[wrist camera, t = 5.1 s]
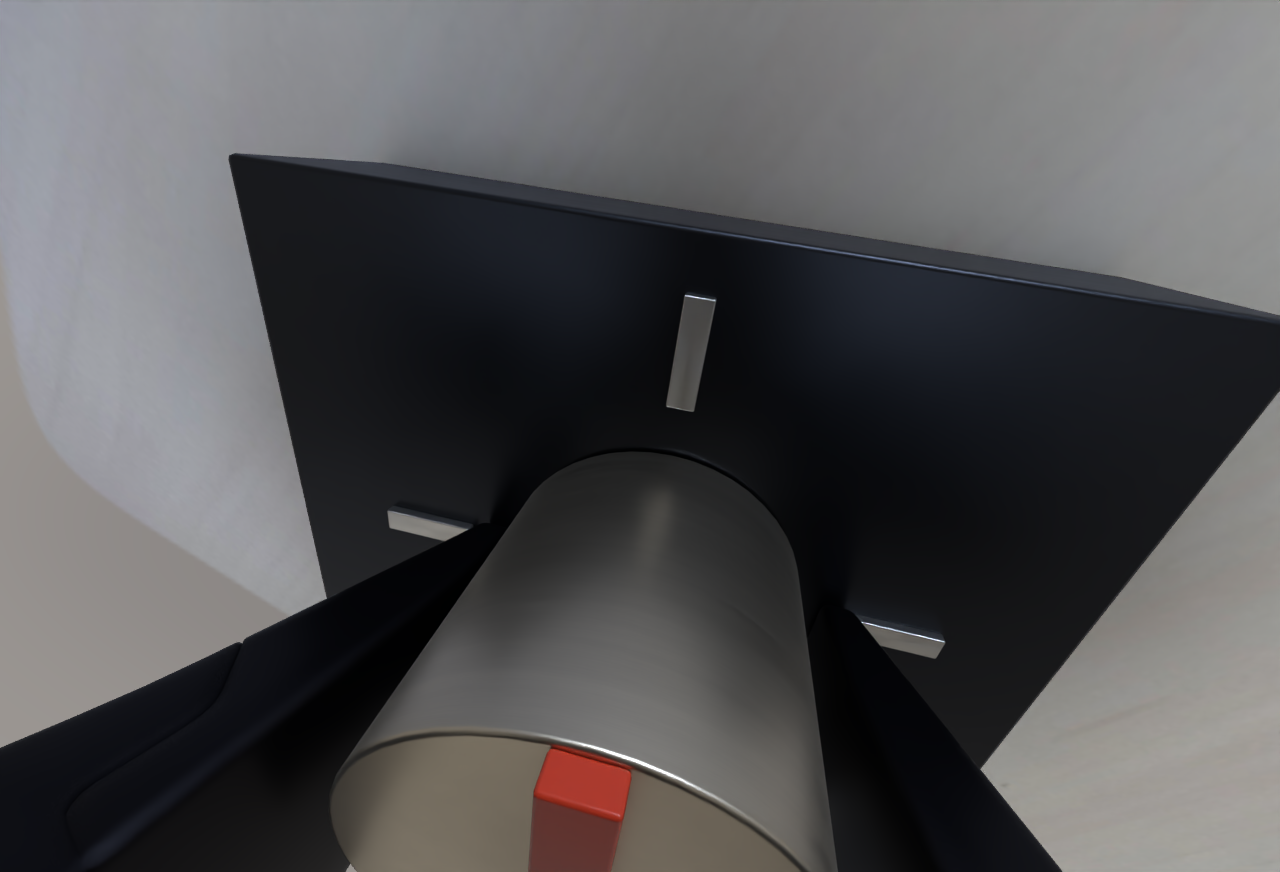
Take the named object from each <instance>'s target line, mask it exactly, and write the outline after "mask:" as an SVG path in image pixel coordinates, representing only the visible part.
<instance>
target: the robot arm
mask: <svg viewBox="0 0 1280 872" xmlns="http://www.w3.org/2000/svg"><path fill="white" fill-rule="evenodd" d="M506 530H507V528H506V527H503V526H499V525H495V524H491V523H481V524H479V525H477V526H475V527H473V528H471V529H469V530H466V531H464V532H462V533H460V534H458V535H456V536H454V537H452V538H450V539H448V540H446V541H444V542H442V543H440V544H438V545H436V546H434V547H432V548H430V549H427V550H425V551H423V552H421V553H419V554H417V555H415V556H413V557H411V558H409V559H407V560H405V561H403V562H401V563H399V564H397V565H395V566H393V567H391V568H389V569H386V570H384V571H382V572H380V573H378V574H376V575H374V576H372V577H370V578H368V579H366V580H364V581H362V582H360V583H358V584H356V585H354V586H352V587H350V588H348V589H345V590H343V591H341V592H339V593H337V594H335V595H333V596H331V597H329V598H327V599H325V600H323V601H321V602H319V603H317V604H315V605H313V606H311V607H309V608H307V609H304V610H302V611H300V612H298V613H296V614H294V615H292V616H290V617H288V618H286V619H284V620H282V621H280V622H278V623H276V624H274V625H272V626H270V627H268V628H266V629H263V630H262V631H260V632H257V633H255V634H253V635H251V636H249V637H247V638H246V639H245V640H244V641H243V643H240V642H237V643H234V644H232V645H230V646H228V647H226V648H224V649H222V650H220V651H218V652H216V653H214V654H212V655H210V656H208V657H206V658H204V659H201V660H199V661H197V662H195V663H193V664H191V665H189V666H187V667H184V668H182V669H180V670H178V671H176V672H174V673H172V674H169V675H167V676H165V677H163V678H161V679H159V680H157V681H155V682H152V683H150V684H148V685H146V686H144V687H142V688H139V689H137V690H135V691H133V692H130V693H128V694H125V695H123V696H121V697H119V698H116V699H114V700H112V701H109V702H107V703H105V704H103V705H100V706H98V707H96V708H93V709H91V710H89V711H86V712H84V713H82V714H80V715H77V716H75V717H73V718H70V719H68V720H65V721H63V722H61V723H58V724H56V725H54V726H51V727H49V728H46V729H44V730H42V731H39V732H37V733H34V734H32V735H30V736H27V737H25V738H23V739H20V740H18V741H15V742H13V743H11V744H8V745H6V746H4V747H1V748H0V872H346V870H347V868H348V867H349V865H350V862H349V861H348V859H347V858H346V856H345V854H344V853H343V851H342V849H341V848H340V846H339V844H338V842H337V840H336V837H335V835H334V832H333V829H332V827H331V822H330V816H329V811H328V809H329V794H330V791H331V788H332V785H333V782H334V779H335V776H336V774H337V772H338V771H339V769H340V768H341V767H342V765H343V764H344V762H345V761H346V759H347V758H348V757H349V755H350V754H351V752H352V751H353V749H354V748H355V747H356V745H357V744H358V742H359V741H360V739H361V738H362V737H363V735H364V734H365V732H366V731H367V729H368V728H369V726H370V725H371V724H372V722H373V721H374V719H375V718H376V716H377V715H378V714H379V712H380V711H381V709H382V708H383V706H384V705H385V704H386V702H387V701H388V699H389V698H390V696H391V695H392V694H393V692H394V691H395V689H396V688H397V686H398V685H399V683H400V682H401V681H402V679H403V678H404V676H405V675H406V673H407V672H408V671H409V669H410V668H411V666H412V665H413V663H414V662H415V661H416V659H417V658H418V656H419V655H420V653H421V652H422V651H423V649H424V648H425V646H426V645H427V643H428V642H429V640H430V639H431V638H432V636H433V635H434V633H435V632H436V630H437V629H438V628H439V626H440V625H441V623H442V622H443V620H444V619H445V618H446V616H447V615H448V613H449V612H450V610H451V609H452V608H453V606H454V605H455V603H456V602H457V600H458V599H459V597H460V596H461V595H462V593H463V592H464V590H465V589H466V587H467V586H468V585H469V583H470V582H471V580H472V579H473V577H474V576H475V575H476V573H477V572H478V570H479V569H480V567H481V566H482V564H483V563H484V562H485V560H486V559H487V557H488V556H489V554H490V553H491V552H492V550H493V549H494V547H495V546H496V544H497V543H498V542H499V540H500V539H501V537H502V536H503V534H504V533H505V532H506ZM807 644H808V652H809V659H810V667H811V674H812V682H813V689H814V696H815V704H816V711H817V719H818V726H819V734H820V741H821V749H822V756H823V764H824V771H825V779H826V786H827V794H828V801H829V809H830V816H831V824H832V831H833V839H834V846H835V854H836V861H837V869H838V872H1062V870H1061V869H1060V868H1059V866H1058V865H1057V864H1056V863H1055V861H1054V860H1053V859H1052V858H1051V856H1050V855H1049V854H1048V853H1047V852H1046V850H1045V849H1044V848H1043V847H1042V845H1041V844H1040V843H1039V842H1038V840H1037V839H1036V838H1035V837H1034V835H1033V834H1032V833H1031V832H1030V830H1029V829H1028V828H1027V827H1026V825H1025V824H1024V823H1023V822H1022V821H1021V819H1020V818H1019V817H1018V816H1017V814H1016V813H1015V812H1014V811H1013V809H1012V808H1011V807H1010V806H1009V804H1008V803H1007V802H1006V801H1005V799H1004V798H1003V797H1002V796H1001V794H1000V793H999V792H998V791H997V790H996V788H995V787H994V786H993V785H992V783H991V782H990V781H989V780H988V778H987V777H986V776H985V775H984V773H983V772H982V771H981V770H980V768H979V767H978V766H977V765H976V764H975V762H974V761H973V760H972V759H971V757H970V756H969V755H968V754H967V752H966V751H965V750H964V749H963V747H962V746H961V745H960V744H959V742H958V741H957V740H956V739H955V737H954V736H953V735H952V734H951V733H950V731H949V730H948V729H947V728H946V726H945V725H944V724H943V723H942V721H941V720H940V719H939V718H938V716H937V715H936V714H935V713H934V711H933V710H932V709H931V708H930V706H929V705H928V704H927V703H926V702H925V700H924V699H923V698H922V697H921V695H920V694H919V693H918V692H917V690H916V689H915V688H914V687H913V685H912V684H911V683H910V682H909V680H908V679H907V678H906V677H905V676H904V674H903V673H902V672H901V671H900V669H899V668H898V667H897V666H896V664H895V663H894V662H893V661H892V659H891V658H890V657H889V656H888V654H887V653H886V652H885V651H884V649H883V648H882V647H881V646H880V645H879V643H878V642H877V641H876V640H875V638H874V637H873V636H872V635H871V633H870V632H869V631H868V630H867V628H866V627H865V626H864V625H863V623H862V622H861V621H860V620H859V618H858V617H857V616H856V615H855V614H854V613H853V612H852V611H850V610H847V609H843V608H839V607H835V606H831V605H825V606H823V607H822V608H821V609H820V611H819V613H818V615H817V617H816V620H815V622H814V625H813V627H812V629H811V632H810V634H809V637H808V639H807Z"/></svg>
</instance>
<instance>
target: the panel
mask: <svg viewBox="0 0 1280 872" xmlns="http://www.w3.org/2000/svg"><path fill="white" fill-rule="evenodd" d="M229 163H230V168H231V172H232V177H233V181H234V186H235V190H236V195H237V199H238V204H239V208H240V212H241V217H242V221H243V226H244V230H245V235H246V239H247V244H248V248H249V253H250V257H251V262H252V266H253V271H254V275H255V279H256V284H257V288H258V293H259V297H260V302H261V306H262V311H263V315H264V320H265V324H266V329H267V333H268V338H269V342H270V346H271V351H272V355H273V360H274V364H275V369H276V373H277V378H278V382H279V387H280V391H281V396H282V400H283V405H284V409H285V413H286V418H287V422H288V427H289V431H290V436H291V440H292V445H293V449H294V454H295V458H296V463H297V467H298V472H299V476H300V480H301V485H302V489H303V494H304V498H305V503H306V507H307V512H308V516H309V521H310V525H311V530H312V534H313V539H314V543H315V547H316V552H317V556H318V561H319V565H320V570H321V574H322V579H323V583H324V588H325V592H326V597H327V598H329V597H331V596H333V595H335V594H337V593H339V592H341V591H343V590H345V589H348V588H350V587H352V586H354V585H356V584H358V583H360V582H362V581H364V580H366V579H368V578H370V577H372V576H374V575H376V574H378V573H380V572H382V571H384V570H386V569H389V568H391V567H393V566H395V565H397V564H399V563H401V562H403V561H405V560H407V559H409V558H411V557H413V556H415V555H417V554H419V553H421V552H423V551H425V550H427V549H430V548H432V547H434V546H436V545H438V544H440V543H442V542H444V541H446V540H448V539H450V538H452V537H454V536H456V535H458V534H460V533H462V532H464V531H466V530H469V529H471V528H473V527H475V526H477V525H479V524H481V523H491V524H495V525H499V526H503V527H506V528H507V529H508V527H509V526H510V524H511V523H512V521H513V520H514V519H515V517H516V516H517V514H518V513H519V511H520V510H521V509H522V507H523V506H524V504H525V503H526V501H527V500H528V499H529V497H530V496H531V494H532V493H533V492H534V491H535V490H536V489H537V488H538V487H539V486H540V485H541V484H542V483H543V482H544V481H545V480H547V479H548V478H549V477H551V476H552V475H553V474H555V473H556V472H558V471H560V470H561V469H563V468H565V467H567V466H569V465H571V464H573V463H576V462H579V461H582V460H584V459H587V458H590V457H594V456H599V455H604V454H609V453H618V452H630V451H632V452H653V453H659V454H666V455H672V456H676V457H680V458H683V459H687V460H690V461H694V462H696V463H699V464H701V465H704V466H706V467H709V468H711V469H714V470H715V471H717V472H719V473H721V474H723V475H725V476H726V477H728V478H730V479H732V480H733V481H735V482H736V483H738V484H739V485H740V486H742V487H743V488H745V489H746V490H747V491H749V492H750V493H751V494H752V495H753V496H754V497H755V498H756V499H757V500H759V501H760V502H761V503H762V504H763V505H764V506H765V507H766V508H767V510H768V511H769V512H770V513H771V514H772V516H773V517H774V518H775V519H776V520H777V522H778V523H779V525H780V527H781V528H782V530H783V531H784V533H785V535H786V536H787V539H788V541H789V543H790V546H791V548H792V550H793V553H794V557H795V561H796V565H797V569H798V577H799V584H800V592H801V599H802V607H803V614H804V622H805V629H806V637H807V639H808V637H809V634H810V632H811V629H812V627H813V625H814V622H815V620H816V617H817V615H818V613H819V611H820V609H821V608H822V607H823V606H825V605H831V606H835V607H839V608H843V609H847V610H850V611H852V612H853V613H854V614H855V615H856V616H857V617H858V618H859V620H860V621H861V622H862V623H863V625H864V626H865V627H866V628H867V630H868V631H869V632H870V633H871V635H872V636H873V637H874V638H875V640H876V641H877V642H878V643H879V645H880V646H881V647H882V648H883V649H884V651H885V652H886V653H887V654H888V656H889V657H890V658H891V659H892V661H893V662H894V663H895V664H896V666H897V667H898V668H899V669H900V671H901V672H902V673H903V674H904V676H905V677H906V678H907V679H908V680H909V682H910V683H911V684H912V685H913V687H914V688H915V689H916V690H917V692H918V693H919V694H920V695H921V697H922V698H923V699H924V700H925V702H926V703H927V704H928V705H929V706H930V708H931V709H932V710H933V711H934V713H935V714H936V715H937V716H938V718H939V719H940V720H941V721H942V723H943V724H944V725H945V726H946V728H947V729H948V730H949V731H950V733H951V734H952V735H953V736H954V737H955V739H956V740H957V741H958V742H959V744H960V745H961V746H962V747H963V749H964V750H965V751H966V752H967V754H968V755H969V756H970V757H971V759H972V760H973V761H974V762H975V764H976V765H977V766H978V767H979V768H980V769H981V768H982V766H983V765H984V764H985V763H986V761H987V760H988V759H989V758H990V756H991V755H992V754H993V752H994V751H995V750H996V749H997V747H998V746H999V745H1000V744H1001V742H1002V741H1003V740H1004V739H1005V737H1006V736H1007V735H1008V734H1009V732H1010V731H1011V730H1012V728H1013V727H1014V726H1015V725H1016V723H1017V722H1018V721H1019V720H1020V718H1021V717H1022V716H1023V715H1024V713H1025V712H1026V711H1027V710H1028V708H1029V707H1030V706H1031V704H1032V703H1033V702H1034V701H1035V699H1036V698H1037V697H1038V696H1039V694H1040V693H1041V692H1042V691H1043V689H1044V688H1045V687H1046V685H1047V684H1048V683H1049V682H1050V680H1051V679H1052V678H1053V677H1054V675H1055V674H1056V673H1057V672H1058V670H1059V669H1060V668H1061V667H1062V665H1063V664H1064V663H1065V661H1066V660H1067V659H1068V658H1069V656H1070V655H1071V654H1072V653H1073V651H1074V650H1075V649H1076V648H1077V646H1078V645H1079V644H1080V643H1081V641H1082V640H1083V639H1084V637H1085V636H1086V635H1087V634H1088V632H1089V631H1090V630H1091V629H1092V627H1093V626H1094V625H1095V624H1096V622H1097V621H1098V620H1099V618H1100V617H1101V616H1102V615H1103V613H1104V612H1105V611H1106V610H1107V608H1108V607H1109V606H1110V605H1111V603H1112V602H1113V601H1114V600H1115V598H1116V597H1117V596H1118V594H1119V593H1120V592H1121V591H1122V589H1123V588H1124V587H1125V586H1126V584H1127V583H1128V582H1129V581H1130V579H1131V578H1132V577H1133V576H1134V574H1135V573H1136V572H1137V570H1138V569H1139V568H1140V567H1141V565H1142V564H1143V563H1144V562H1145V560H1146V559H1147V558H1148V557H1149V555H1150V554H1151V553H1152V551H1153V550H1154V549H1155V548H1156V546H1157V545H1158V544H1159V543H1160V541H1161V540H1162V539H1163V538H1164V536H1165V535H1166V534H1167V533H1168V531H1169V530H1170V529H1171V527H1172V526H1173V525H1174V524H1175V522H1176V521H1177V520H1178V519H1179V517H1180V516H1181V515H1182V514H1183V512H1184V511H1185V510H1186V509H1187V507H1188V506H1189V505H1190V503H1191V502H1192V501H1193V500H1194V498H1195V497H1196V496H1197V495H1198V493H1199V492H1200V491H1201V490H1202V488H1203V487H1204V486H1205V484H1206V483H1207V482H1208V481H1209V479H1210V478H1211V477H1212V476H1213V474H1214V473H1215V472H1216V471H1217V469H1218V468H1219V467H1220V466H1221V464H1222V463H1223V462H1224V460H1225V459H1226V458H1227V457H1228V455H1229V454H1230V453H1231V452H1232V450H1233V449H1234V448H1235V447H1236V445H1237V444H1238V443H1239V442H1240V440H1241V439H1242V438H1243V436H1244V435H1245V434H1246V433H1247V431H1248V430H1249V429H1250V428H1251V426H1252V425H1253V424H1254V423H1255V421H1256V420H1257V419H1258V418H1259V416H1260V415H1261V414H1262V412H1263V411H1264V410H1265V409H1266V407H1267V406H1268V405H1269V404H1270V402H1271V401H1272V400H1273V399H1274V397H1275V396H1276V395H1277V393H1278V392H1279V391H1280V316H1279V315H1275V314H1271V313H1267V312H1263V311H1258V310H1254V309H1250V308H1246V307H1242V306H1238V305H1234V304H1230V303H1225V302H1221V301H1217V300H1213V299H1209V298H1205V297H1201V296H1197V295H1192V294H1188V293H1184V292H1180V291H1176V290H1172V289H1168V288H1164V287H1159V286H1155V285H1151V284H1147V283H1143V282H1139V281H1135V280H1131V279H1126V278H1122V277H1115V276H1109V275H1102V274H1096V273H1090V272H1083V271H1077V270H1070V269H1064V268H1057V267H1051V266H1044V265H1038V264H1032V263H1025V262H1019V261H1012V260H1006V259H999V258H993V257H986V256H980V255H974V254H967V253H961V252H954V251H948V250H941V249H935V248H929V247H922V246H916V245H909V244H903V243H896V242H890V241H883V240H877V239H871V238H864V237H858V236H851V235H845V234H838V233H832V232H825V231H819V230H813V229H806V228H800V227H793V226H787V225H780V224H774V223H767V222H761V221H755V220H748V219H742V218H735V217H729V216H722V215H716V214H709V213H703V212H697V211H690V210H684V209H677V208H671V207H664V206H658V205H652V204H645V203H639V202H632V201H626V200H619V199H613V198H606V197H600V196H594V195H587V194H581V193H574V192H568V191H561V190H555V189H548V188H542V187H536V186H529V185H523V184H516V183H510V182H503V181H497V180H490V179H484V178H478V177H471V176H465V175H458V174H452V173H445V172H439V171H432V170H426V169H420V168H413V167H407V166H400V165H394V164H387V163H377V162H362V161H346V160H331V159H315V158H300V157H284V156H269V155H253V154H238V153H234V154H232V155H229Z"/></svg>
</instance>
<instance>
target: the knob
mask: <svg viewBox="0 0 1280 872" xmlns="http://www.w3.org/2000/svg"><path fill="white" fill-rule="evenodd" d="M328 811H329V816H330V822H331V827H332V829H333V832H334V835H335V837H336V840H337V842H338V844H339V846H340V848H341V849H342V851H343V853H344V854H345V856H346V858H347V859H348V861H349V862H350V863H351V865H352V866H353V867H354V869H355V870H356V871H357V872H838V869H837V861H836V854H835V846H834V839H833V831H832V824H831V816H830V809H829V801H828V794H827V786H826V779H825V771H824V764H823V756H822V749H821V741H820V734H819V726H818V719H817V711H816V704H815V696H814V689H813V682H812V674H811V667H810V659H809V652H808V644H807V637H806V629H805V622H804V614H803V607H802V599H801V592H800V584H799V577H798V569H797V565H796V561H795V557H794V553H793V550H792V548H791V546H790V543H789V541H788V539H787V536H786V535H785V533H784V531H783V530H782V528H781V527H780V525H779V523H778V522H777V520H776V519H775V518H774V517H773V516H772V514H771V513H770V512H769V511H768V510H767V508H766V507H765V506H764V505H763V504H762V503H761V502H760V501H759V500H757V499H756V498H755V497H754V496H753V495H752V494H751V493H750V492H749V491H747V490H746V489H745V488H743V487H742V486H740V485H739V484H738V483H736V482H735V481H733V480H732V479H730V478H728V477H726V476H725V475H723V474H721V473H719V472H717V471H715V470H714V469H711V468H709V467H706V466H704V465H701V464H699V463H696V462H694V461H690V460H687V459H683V458H680V457H676V456H672V455H666V454H659V453H653V452H632V451H630V452H618V453H609V454H604V455H599V456H594V457H590V458H587V459H584V460H582V461H579V462H576V463H573V464H571V465H569V466H567V467H565V468H563V469H561V470H560V471H558V472H556V473H555V474H553V475H552V476H551V477H549V478H548V479H547V480H545V481H544V482H543V483H542V484H541V485H540V486H539V487H538V488H537V489H536V490H535V491H534V492H533V493H532V494H531V496H530V497H529V499H528V500H527V501H526V503H525V504H524V506H523V507H522V509H521V510H520V511H519V513H518V514H517V516H516V517H515V519H514V520H513V521H512V523H511V524H510V526H509V527H508V529H507V530H506V532H505V533H504V534H503V536H502V537H501V539H500V540H499V542H498V543H497V544H496V546H495V547H494V549H493V550H492V552H491V553H490V554H489V556H488V557H487V559H486V560H485V562H484V563H483V564H482V566H481V567H480V569H479V570H478V572H477V573H476V575H475V576H474V577H473V579H472V580H471V582H470V583H469V585H468V586H467V587H466V589H465V590H464V592H463V593H462V595H461V596H460V597H459V599H458V600H457V602H456V603H455V605H454V606H453V608H452V609H451V610H450V612H449V613H448V615H447V616H446V618H445V619H444V620H443V622H442V623H441V625H440V626H439V628H438V629H437V630H436V632H435V633H434V635H433V636H432V638H431V639H430V640H429V642H428V643H427V645H426V646H425V648H424V649H423V651H422V652H421V653H420V655H419V656H418V658H417V659H416V661H415V662H414V663H413V665H412V666H411V668H410V669H409V671H408V672H407V673H406V675H405V676H404V678H403V679H402V681H401V682H400V683H399V685H398V686H397V688H396V689H395V691H394V692H393V694H392V695H391V696H390V698H389V699H388V701H387V702H386V704H385V705H384V706H383V708H382V709H381V711H380V712H379V714H378V715H377V716H376V718H375V719H374V721H373V722H372V724H371V725H370V726H369V728H368V729H367V731H366V732H365V734H364V735H363V737H362V738H361V739H360V741H359V742H358V744H357V745H356V747H355V748H354V749H353V751H352V752H351V754H350V755H349V757H348V758H347V759H346V761H345V762H344V764H343V765H342V767H341V768H340V769H339V771H338V772H337V774H336V776H335V779H334V782H333V785H332V788H331V791H330V794H329V809H328Z"/></svg>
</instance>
